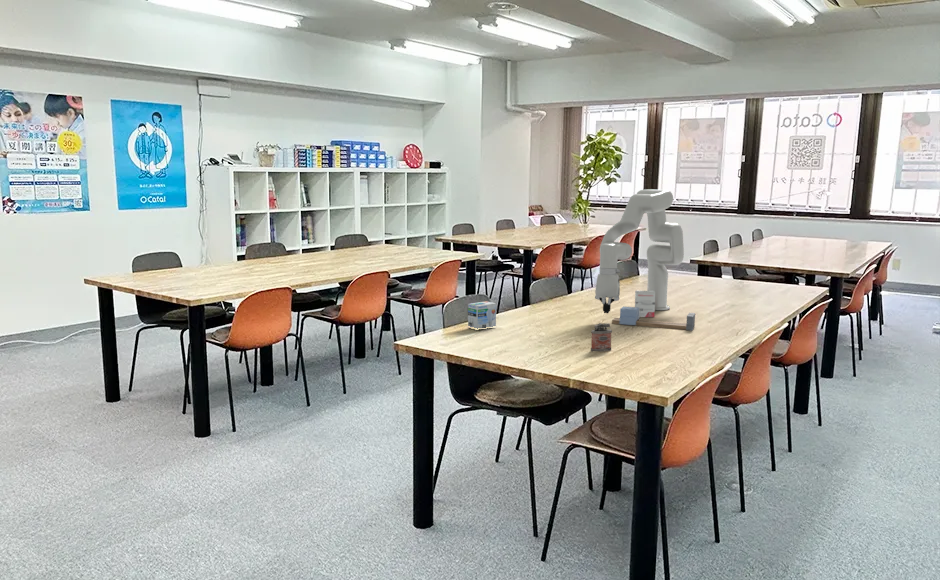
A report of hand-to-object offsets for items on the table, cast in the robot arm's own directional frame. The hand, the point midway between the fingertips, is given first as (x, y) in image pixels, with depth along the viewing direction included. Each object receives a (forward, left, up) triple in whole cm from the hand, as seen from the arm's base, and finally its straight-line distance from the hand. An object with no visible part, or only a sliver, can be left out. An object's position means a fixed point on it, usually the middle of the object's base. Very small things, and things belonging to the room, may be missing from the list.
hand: (606, 312), depth 312 cm
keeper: (0, +10, -4) cm, 11 cm away
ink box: (-20, +13, -4) cm, 25 cm away
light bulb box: (+36, -45, -4) cm, 58 cm away
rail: (0, +20, -4) cm, 20 cm away
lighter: (+54, +10, -4) cm, 55 cm away
